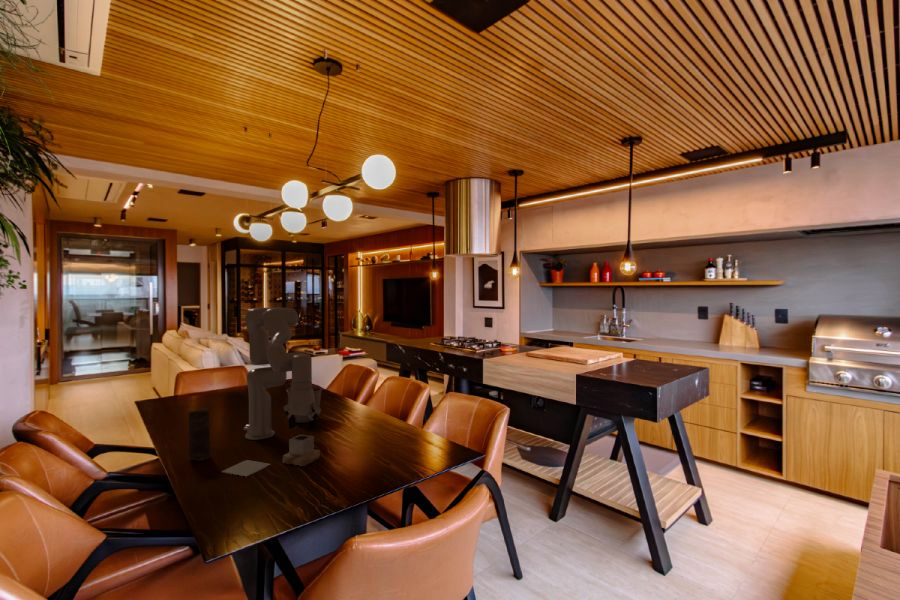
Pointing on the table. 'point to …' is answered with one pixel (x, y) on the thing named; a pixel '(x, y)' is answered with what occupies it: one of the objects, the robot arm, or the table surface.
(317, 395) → the canister
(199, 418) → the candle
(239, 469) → the rubber pad
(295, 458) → the peg stand
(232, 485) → the table surface
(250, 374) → the robot arm
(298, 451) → the hollow square tube
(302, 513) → the table surface
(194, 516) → the table surface
